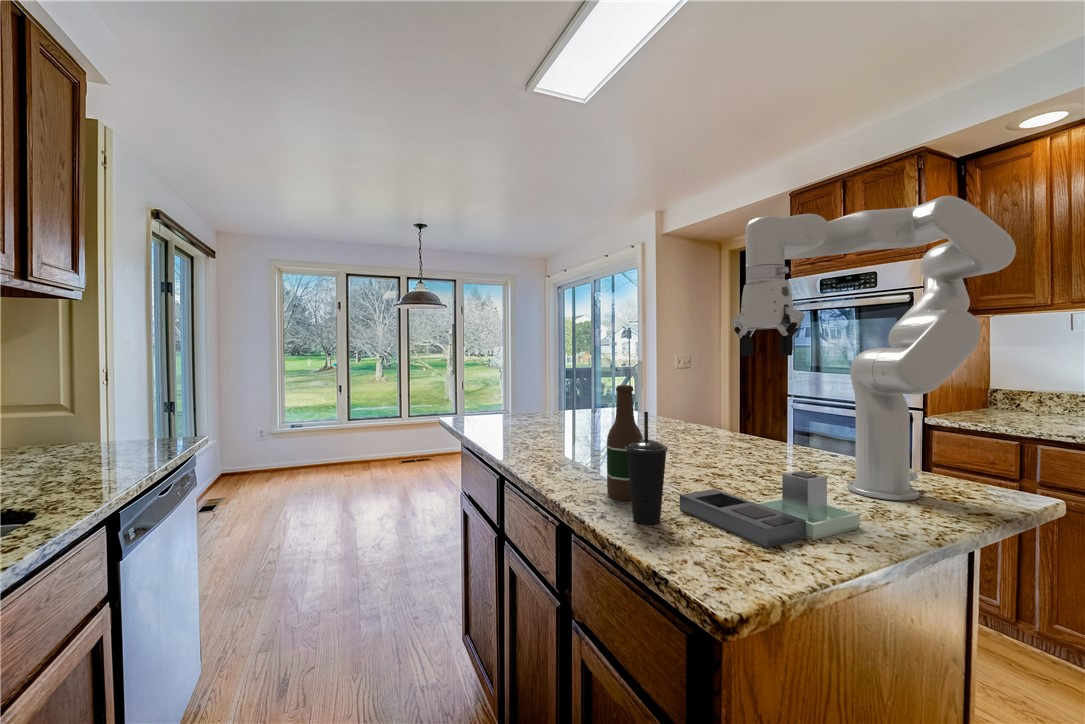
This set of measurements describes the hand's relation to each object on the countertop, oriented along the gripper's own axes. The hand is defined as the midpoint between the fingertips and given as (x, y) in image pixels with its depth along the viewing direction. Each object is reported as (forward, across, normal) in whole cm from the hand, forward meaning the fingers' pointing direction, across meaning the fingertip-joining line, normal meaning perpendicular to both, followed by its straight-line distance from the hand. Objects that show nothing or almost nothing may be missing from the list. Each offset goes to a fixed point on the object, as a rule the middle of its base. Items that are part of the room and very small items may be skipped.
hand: (765, 355), depth 99 cm
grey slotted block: (+30, -9, +19) cm, 37 cm away
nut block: (+30, -14, +8) cm, 34 cm away
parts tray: (+30, -14, +8) cm, 34 cm away
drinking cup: (+30, -1, +33) cm, 45 cm away
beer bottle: (+30, +13, +28) cm, 43 cm away
